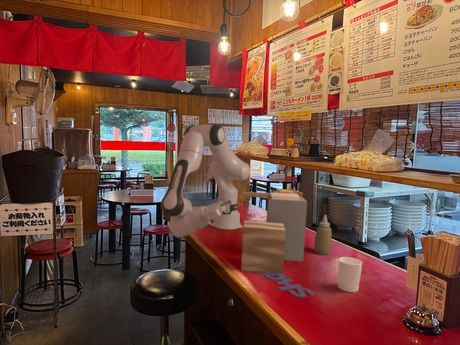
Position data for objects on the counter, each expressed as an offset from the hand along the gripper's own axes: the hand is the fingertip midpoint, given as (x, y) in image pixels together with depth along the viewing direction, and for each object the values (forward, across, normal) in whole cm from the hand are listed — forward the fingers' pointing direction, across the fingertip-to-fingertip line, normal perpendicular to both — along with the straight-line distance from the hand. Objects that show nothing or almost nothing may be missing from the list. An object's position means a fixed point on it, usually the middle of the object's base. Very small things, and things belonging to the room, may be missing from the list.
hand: (230, 203), depth 151 cm
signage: (+7, -29, +30) cm, 42 cm away
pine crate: (+2, -16, +27) cm, 31 cm away
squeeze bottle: (+27, +8, +41) cm, 50 cm away
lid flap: (+17, 0, +5) cm, 18 cm away
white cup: (+28, -31, +42) cm, 59 cm away
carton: (+10, 0, +32) cm, 33 cm away
